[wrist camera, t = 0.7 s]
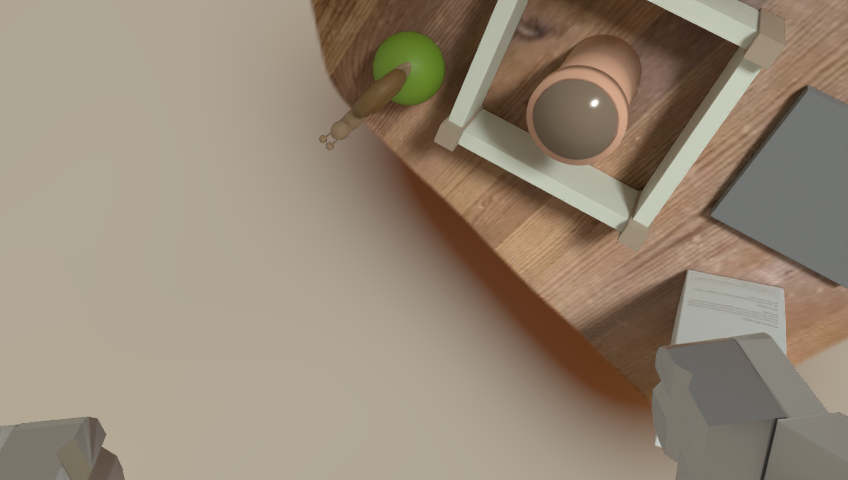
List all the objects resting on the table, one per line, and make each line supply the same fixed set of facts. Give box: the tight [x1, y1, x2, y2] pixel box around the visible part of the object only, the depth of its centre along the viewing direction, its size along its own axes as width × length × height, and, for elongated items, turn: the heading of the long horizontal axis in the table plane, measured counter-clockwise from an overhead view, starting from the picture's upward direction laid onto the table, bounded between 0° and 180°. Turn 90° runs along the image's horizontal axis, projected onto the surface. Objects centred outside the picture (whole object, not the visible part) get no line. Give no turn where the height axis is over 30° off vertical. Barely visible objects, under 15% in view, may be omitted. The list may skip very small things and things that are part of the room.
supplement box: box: [655, 270, 786, 447], centre depth 53 cm, size 7×7×13 cm
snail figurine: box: [319, 31, 445, 150], centre depth 52 cm, size 5×6×12 cm
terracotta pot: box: [526, 35, 641, 166], centre depth 48 cm, size 6×6×9 cm
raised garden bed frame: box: [434, 0, 785, 251], centre depth 49 cm, size 17×17×6 cm
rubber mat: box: [710, 85, 848, 289], centre depth 49 cm, size 11×11×1 cm
